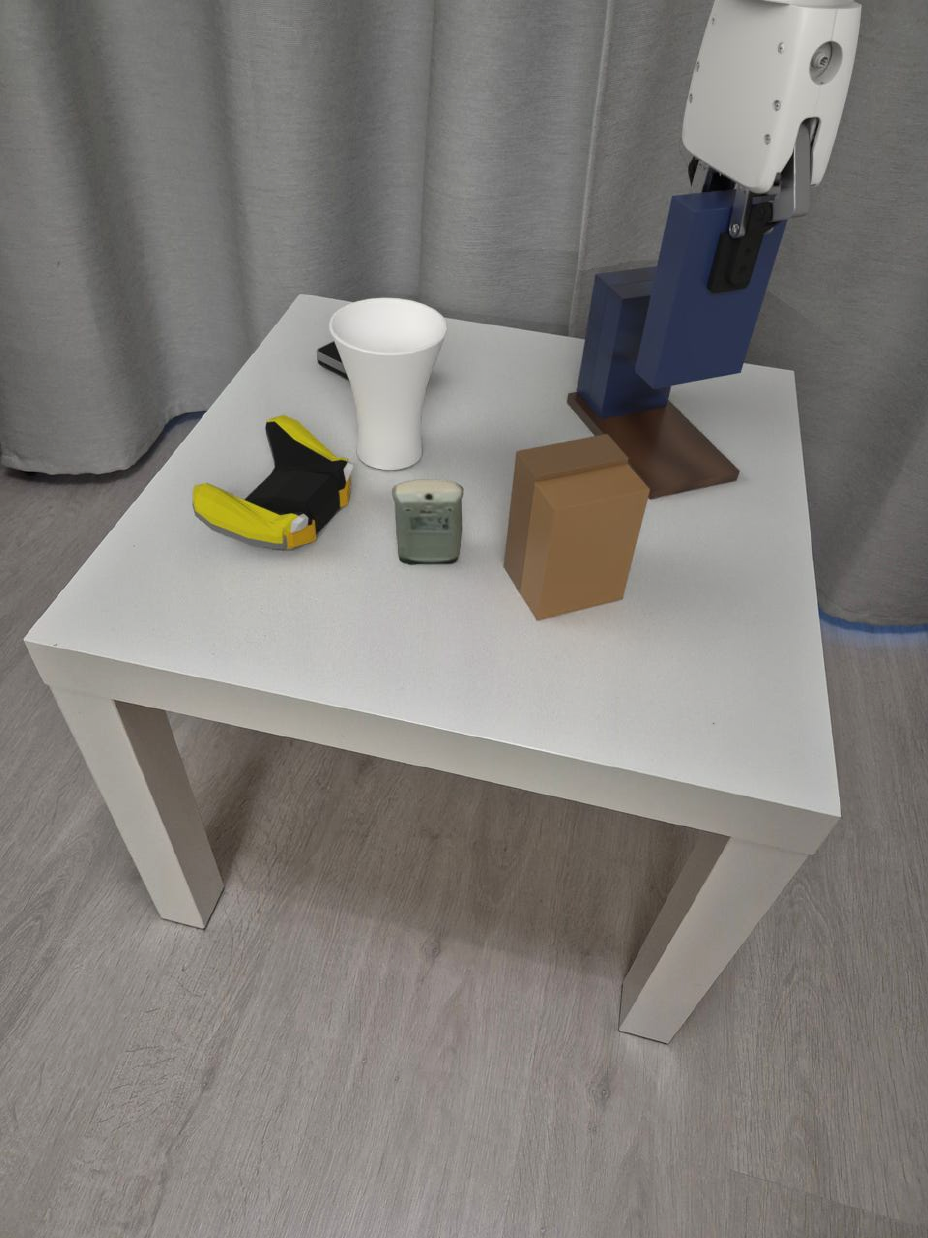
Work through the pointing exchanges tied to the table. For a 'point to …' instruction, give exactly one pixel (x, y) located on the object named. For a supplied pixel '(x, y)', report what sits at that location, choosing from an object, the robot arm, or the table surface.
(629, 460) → the blue bookends on base
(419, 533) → the grey-green rounded box
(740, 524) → the table surface
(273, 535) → the gaming controller
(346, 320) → the cup
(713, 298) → the navy book
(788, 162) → the robot arm
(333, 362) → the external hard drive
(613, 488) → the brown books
